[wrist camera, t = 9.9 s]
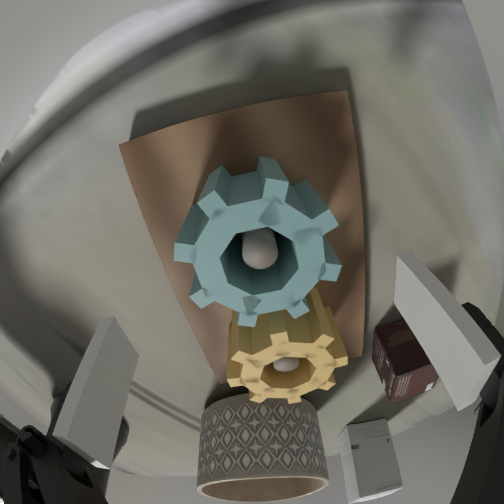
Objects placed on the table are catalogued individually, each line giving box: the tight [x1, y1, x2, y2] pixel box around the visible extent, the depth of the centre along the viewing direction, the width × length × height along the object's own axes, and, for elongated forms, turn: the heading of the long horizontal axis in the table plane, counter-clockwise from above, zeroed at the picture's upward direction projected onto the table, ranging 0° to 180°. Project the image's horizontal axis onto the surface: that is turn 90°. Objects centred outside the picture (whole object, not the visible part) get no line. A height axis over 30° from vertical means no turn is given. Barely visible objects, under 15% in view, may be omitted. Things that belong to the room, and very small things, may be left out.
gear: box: [174, 156, 342, 327], centre depth 18 cm, size 9×9×6 cm
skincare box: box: [338, 418, 403, 504], centre depth 36 cm, size 8×6×15 cm
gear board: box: [119, 90, 365, 384], centre depth 22 cm, size 16×26×7 cm, turn 13°
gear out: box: [227, 287, 348, 404], centre depth 23 cm, size 9×9×6 cm
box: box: [372, 319, 439, 404], centre depth 27 cm, size 6×6×7 cm
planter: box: [197, 393, 330, 503], centre depth 32 cm, size 16×16×13 cm
